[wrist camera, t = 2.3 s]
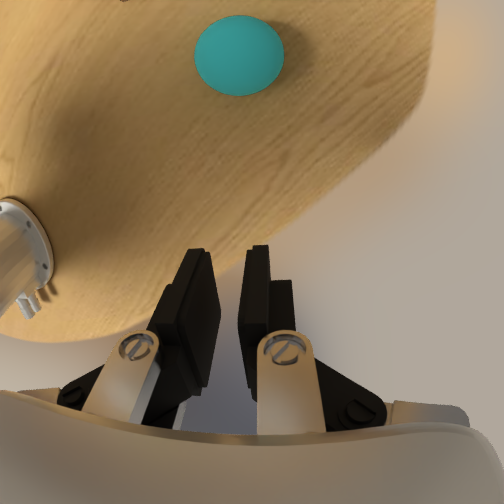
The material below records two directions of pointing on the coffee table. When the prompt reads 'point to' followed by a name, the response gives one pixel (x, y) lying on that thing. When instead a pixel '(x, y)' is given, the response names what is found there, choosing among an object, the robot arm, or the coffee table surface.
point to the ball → (239, 55)
